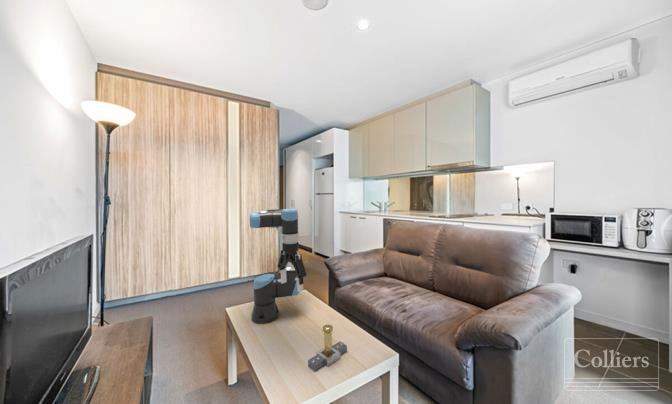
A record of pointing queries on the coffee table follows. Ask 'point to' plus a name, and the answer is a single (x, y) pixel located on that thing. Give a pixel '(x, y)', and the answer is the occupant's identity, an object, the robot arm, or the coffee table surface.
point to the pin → (328, 340)
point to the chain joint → (322, 360)
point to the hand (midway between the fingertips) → (291, 286)
